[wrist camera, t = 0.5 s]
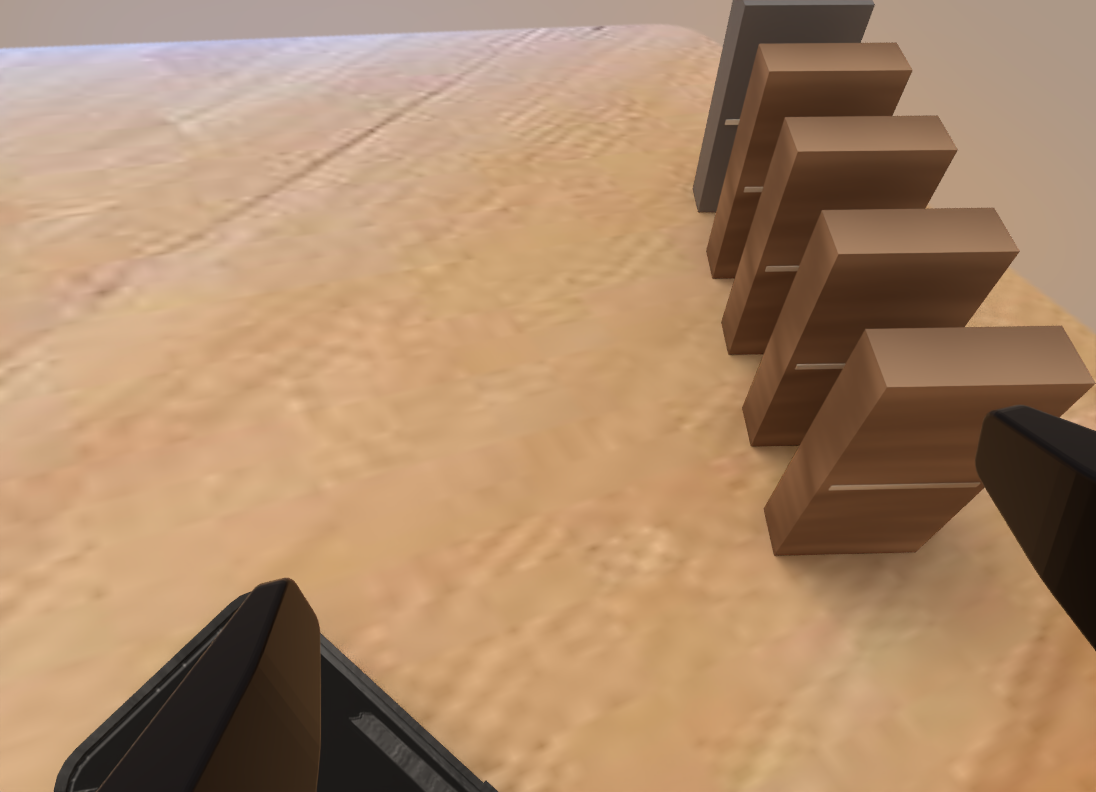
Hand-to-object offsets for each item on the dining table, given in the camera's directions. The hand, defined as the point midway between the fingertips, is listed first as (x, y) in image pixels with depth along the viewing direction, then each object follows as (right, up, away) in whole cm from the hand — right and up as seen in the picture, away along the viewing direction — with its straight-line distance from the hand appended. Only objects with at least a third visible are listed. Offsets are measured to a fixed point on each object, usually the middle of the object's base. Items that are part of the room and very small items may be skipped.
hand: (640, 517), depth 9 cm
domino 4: (+9, 0, +19) cm, 21 cm away
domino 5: (+9, -3, +16) cm, 19 cm away
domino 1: (+9, +11, +27) cm, 30 cm away
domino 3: (+9, +4, +22) cm, 24 cm away
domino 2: (+9, +8, +24) cm, 27 cm away
